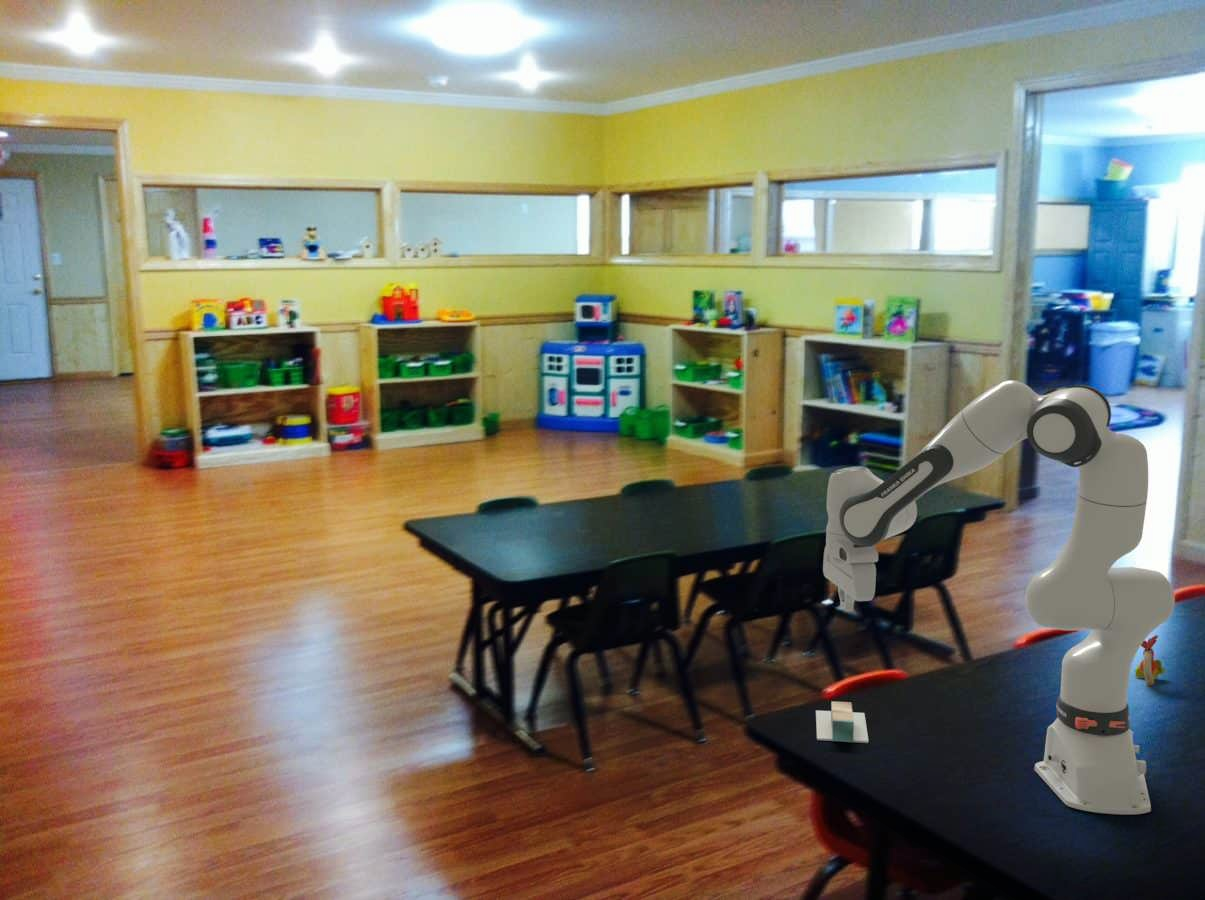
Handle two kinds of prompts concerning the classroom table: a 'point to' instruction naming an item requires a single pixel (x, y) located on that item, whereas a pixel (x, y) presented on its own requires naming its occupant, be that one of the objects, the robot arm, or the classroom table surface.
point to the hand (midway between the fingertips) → (846, 609)
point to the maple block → (842, 721)
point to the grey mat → (826, 728)
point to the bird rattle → (1149, 663)
